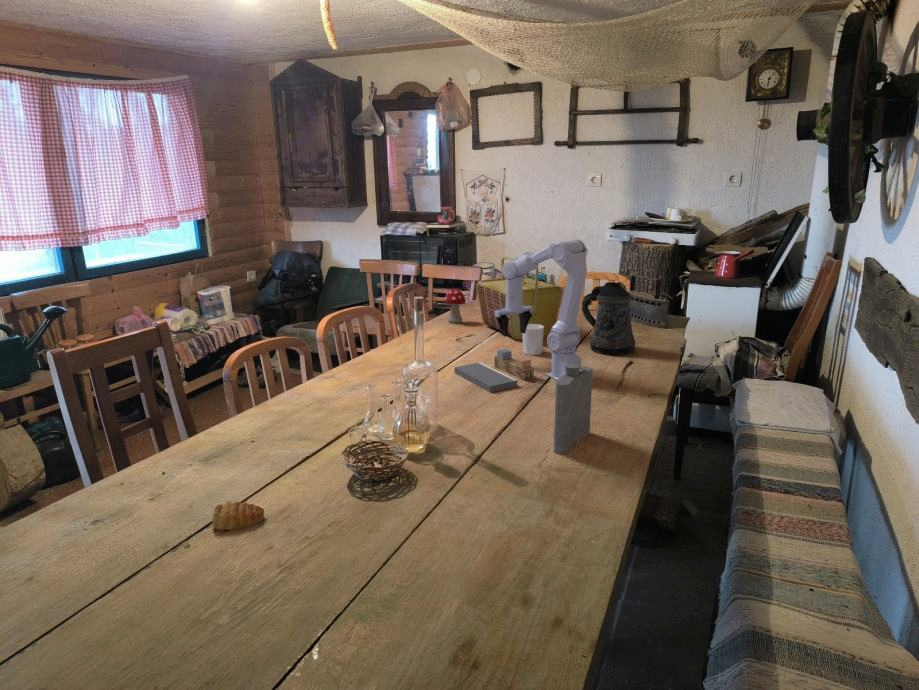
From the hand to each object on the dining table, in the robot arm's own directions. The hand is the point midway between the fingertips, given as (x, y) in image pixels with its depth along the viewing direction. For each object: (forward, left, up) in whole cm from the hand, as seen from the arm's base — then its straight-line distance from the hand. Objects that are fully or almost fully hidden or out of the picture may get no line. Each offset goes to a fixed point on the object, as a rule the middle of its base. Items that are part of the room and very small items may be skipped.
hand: (513, 334), depth 215 cm
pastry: (-56, +105, -10) cm, 120 cm away
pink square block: (-16, +7, -6) cm, 19 cm away
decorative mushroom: (+61, -11, -10) cm, 62 cm away
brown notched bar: (-10, +7, -10) cm, 16 cm away
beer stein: (-7, -38, -10) cm, 40 cm away
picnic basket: (+34, -26, -10) cm, 43 cm away
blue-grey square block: (-5, +7, -6) cm, 11 cm away
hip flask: (-62, +26, -10) cm, 69 cm away
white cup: (+5, -12, -10) cm, 16 cm away
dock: (-11, +19, -10) cm, 24 cm away
